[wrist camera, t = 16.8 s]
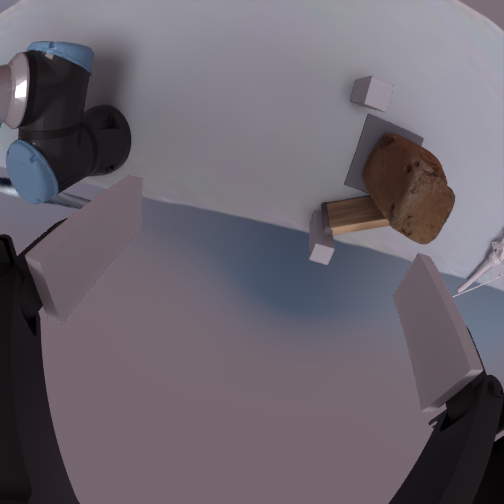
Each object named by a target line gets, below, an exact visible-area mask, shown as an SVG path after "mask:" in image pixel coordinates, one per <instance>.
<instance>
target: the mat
mask: <svg viewBox="0 0 504 504" xmlns="http://www.w3.org/2000/svg"><path fill="white" fill-rule="evenodd" d="M386 133H393V134H396V135H399V136H402V137H404V138H407V139H409V140H411V141H413V142H415V143H416V144H418V145H420V146H421V145H422V142H423V139H424V138H422V137H420V136H418V135H416V134H414V133H412V132H409V131H407V130H405V129H403V128H401V127H399V126H396V125H394V124H392V123H390V122H387V121H385V120H382V119H380V118H378V117H375V116H373V115H370V114H368V115H367V118H366V121H365V124H364V128H363V131H362V134H361V137H360V140H359V143H358V146H357V149H356V152H355V155H354V158H353V161H352V164H351V166H350V169H349V172H348V175H347V178H346V181H345V183H344V185H346V186H349V187H352V188H355V189H358V190H361V191H363V192H366V193H368V191H367V189H366V186H365V183H364V180H363V174H364V170H365V166H366V163H367V161H368V159H369V157H370V155H371V153H372V151H373V149H374V148H375V146H376V145H377V143H378V142H379V141H380V140H381V138H382V137H383V136H384V135H385V134H386Z"/></svg>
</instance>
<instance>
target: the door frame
mask: <svg viewBox="0 0 504 504" xmlns="http://www.w3.org/2000/svg"><path fill="white" fill-rule="evenodd" d="M393 87H394V85H393V84H391V83H389V82H386V81H384V80H382V79H379V78H377V77H374V76H369V77H365V78H361V79H357V80H356V81H355V85H354V88H353V92H352V95H351V99H350V101H351V102H354V103H357V104H360V105H362V106H365V107H368V108H372V109H375V110H379V111H383V112H386V111H387V108H388V104H389V101H390V98H391V94H392V91H393ZM334 249H335V248H334V240H333V235H331V236H329V237H327V236H325V235H324V231H323V220H322V212H319V211H316V210H315V211H314V213H313V216H312V219H311V222H310V251H309V252H310V253H309V259H310V260H313V261H316V262H320V263H323V264H326V265H328V263H329V261H330V258H331V256H332V254H333V252H334Z"/></svg>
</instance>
